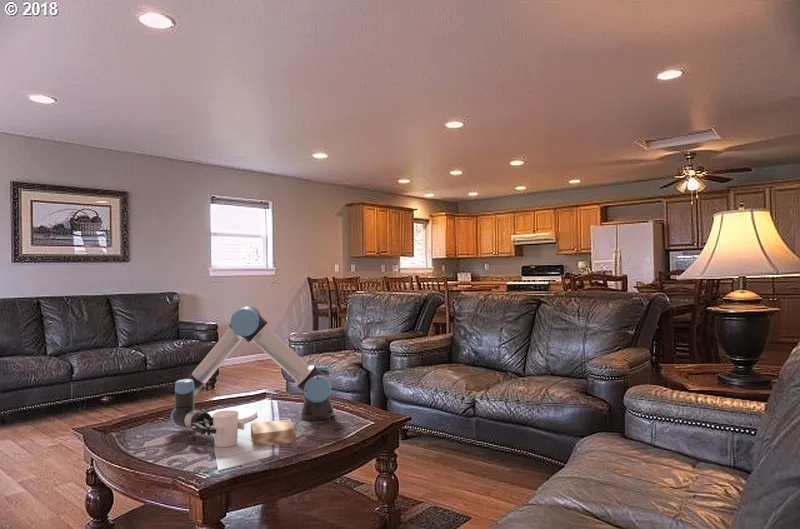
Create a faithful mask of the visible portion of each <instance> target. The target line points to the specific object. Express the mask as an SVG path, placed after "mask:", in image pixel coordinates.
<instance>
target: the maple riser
mask: <svg viewBox="0 0 800 529" xmlns="http://www.w3.org/2000/svg"><path fill="white" fill-rule="evenodd" d="M296 430H297V429H296V428H295V426H294V424H293V421H292V420H291V419H289V418H287V419H280V420H270V421H261V422H251V423H250V437H251V442H252V445H253V448H257V447H266V446H272V445H273V446H274V445H282V444H283V445H284V444H291V443H297V438H296V437H297V431H296Z"/></svg>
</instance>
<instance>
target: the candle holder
mask: <svg viewBox="0 0 800 529" xmlns="http://www.w3.org/2000/svg"><path fill="white" fill-rule="evenodd" d="M238 414H239V412H238V411H234V410H226V411H219V412H216V413H214V414H213V415H212V416H213V426H215V427H219V428H223V436H219V435H215V434H213V438H214V446H215V447H217V448H229V447H233V446H235V445H237V444H238V431H239V429H238Z"/></svg>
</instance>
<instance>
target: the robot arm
mask: <svg viewBox="0 0 800 529" xmlns="http://www.w3.org/2000/svg"><path fill="white" fill-rule="evenodd" d="M242 340H245V341H246V342H247V343H249V344H255V345H256V346H257V347H258V348H260V350H261V351H263V352H264V354H266V355H267V356H268V357H269V358H270V359H271V360H272V361H274V362H275V363H276V364H277V366H279V367H281V369H282V370H284V372H286V374H288V375H289V376H290V377H291V378H292V379H293V380H294V381H295V382H294V383H295V386H296V387H297V388H298V389H299V390H300V391H301V392H302V393H303V394H304V395H303V396H304V399H303V400H304V401H303V405H302V407H301V412H300V418H301V419H302V420H304V421H305V420H306V421H313V420H315V421H323V420H322V419H325V420H327V419H326V418H329V417H331V416H333V415H334V416H335V411H334V410H335V409H334V406H333V404H332V402H331V398H330V397H331V393H332V390H333V389H332V382H331V378H330V376H331V375H330V373H331V371H330V367H329V366H327V365H326V366H325V365H324V366H321V365H320V366H316V365H314V364H310V365H309V363H307V362H306V361H305V360H304V359H303V358H302V357H301V356H299V355H298V354H297V353H296V352H295V351H294V350H293V349H292V347H290V346H289V345H288V344H287V343H285V342H284V341H283V340H282V339H281V338H280V337H279V336H278V335H277V334H276V333H275V332H273V331H272V330H271V329H270V327H269V322H268V321H267V320H266V319H265V318H263V316H261V313H260V311H259V310H258V309H257V308H255V307H254V306H251V305H245V306H242V307H239V308H238V309H236V310H235V311H234V312H233V313H232V315H231V317H230V323H229V324H228V329H227V330H226V332H225V333H224V334H223V335H222V336H221V337H220V339H219V340H218V341H217V342H216V344H214V346H213V347H212V348H211V350H210V351H209V352H208V353H207V355H206V356H205V357H204V358H203V359H202V361H201V362H200V363H199V364H198V365H197V366H196V367H195V369H194V370H193V371H192V372H191V374H190V375H189V376H188V377H187V378H183V379H179V380H176V381H175V384H174V396H175V397H174V399H175V400H174V401H175V404H174V405H175V406H174V407H175V408H174V409H173V410H172V411H171V413H170V421H171V423H172V424H174V425H176V426H177V427H178V426H179V427H182V428H185V429H186V428H187V429H191V430H192V431H195V432H198V433H199V434H201V435H206V436H211V435H212V434H213V435H214V434H215V435H219V436H223V428H219V427H215V426H213V417H211V416H210V414H208V413H209V412H205V411H201V410H197V409H195V397H196V395H197V394H198V393H200V392H201V389H202V388H203V387H204V386H205V385H206V384H207V382H208V381H209V380H210V378H212V376H213V375H214V374H215V373H216V371H217V370H218V369H219V367H221V365H222V364H223V363H224V362H225V361H226V359H227V358H228V357H230V354H231V353H233V351H234V350H235V348H236V347H237V346H238V345H239V344H240V342H241V341H242ZM334 416H333V417H334ZM329 419H330V418H329ZM238 430H243V431H244V430H245V423H244V422H240V421H238Z"/></svg>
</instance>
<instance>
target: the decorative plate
mask: <svg viewBox="0 0 800 529" xmlns="http://www.w3.org/2000/svg"><path fill="white" fill-rule="evenodd" d="M226 410H234V411H238V412H239V414H238V421H240V422H244V424H245V423H248V422H252V421H253V420H255V419H256V418H257V417H258V410H257V409H251V408H246V407H238V406H237V407H235V406H231V407H226V408H221V409H216V410H212V411H209V412H207V413H208V414H210V416H211V417H213V416H212V415H213V414H214V413H216V412H219V411H226Z"/></svg>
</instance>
